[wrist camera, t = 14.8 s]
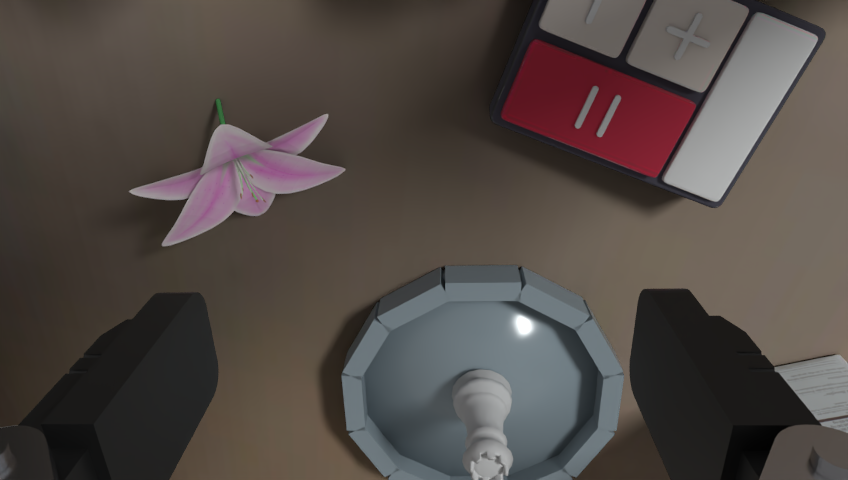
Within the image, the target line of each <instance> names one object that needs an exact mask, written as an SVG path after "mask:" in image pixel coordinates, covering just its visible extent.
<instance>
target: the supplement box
mask: <svg viewBox="0 0 848 480" xmlns="http://www.w3.org/2000/svg"><path fill="white" fill-rule="evenodd" d="M774 368H775V372H779V374H780V375H781V376H782V377H783V378H784V380H785V381H786V382H787V383H788V385H789V386H790V387H791V388H792V389H793V391H794V392H795V393H796V394H797V396H798V397H799V398H800V399H801V400H802V402H803V403H804V404H805V405H806V407H807V408H808V409H809V410H810V411H811V413H812V414H813V415H814V416H815V418H816V419H817V420H818V421H819V422H820V424H821V425H822V426H825V427H830V428H834V429H837V430H840V431H844V432H846V433H848V363H847V362H846V361H845V360H844V359H843V358H842V357H841V356H840V355H832V356H828V357H823V358H818V359H812V360H807V361H802V362H797V363H792V364H787V365H782V366H778V367H774Z"/></svg>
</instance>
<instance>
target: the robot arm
mask: <svg viewBox="0 0 848 480" xmlns="http://www.w3.org/2000/svg"><path fill="white" fill-rule="evenodd" d="M630 381H631V387H632V391H633V394H634V397H635V399H636V402H637V404H638V406H639V408H640V411H641V413H642V415H643V418H644V420H645V422H646V424H647V427H648V429H649V431H650V433H651V436H652V438H653V440H654V443H655V445H656V447H657V449H658V452H659V454H660V456H661V458H662V461H663V463H664V465H665V468H666V470H667V472H668V474H669V477H670V479H671V480H848V433H846V432H844V431H840V430H837V429H834V428H830V427H825V426H822V425H821V424H820V422H819V421H818V420H817V419H816V418H815V416H814V415H813V414H812V413H811V411H810V410H809V409H808V408H807V407H806V405H805V404H804V403H803V402H802V400H801V399H800V398H799V397H798V396H797V394H796V393H795V392H794V391H793V389H792V388H791V387H790V386H789V385H788V383H787V382H786V381H785V380H784V378H783V377H782V376H781V375H780V374H779V372H775V368H774V366H773V365H772V364H771V363H770V361H769V360H768V359H767V358H766V357H765V355H762V354H761V350H760V349H759V348H758V347H757V346H756V344H755V343H754V342H753V341H752V339H751V338H750V337H749V336H748V335H747V333H746V332H744V331H743V330H741V329H740V328H738V327H737V326H735V325H734V324H732V323H730V322H729V321H727V320H726V319H724V318H723V317H721V316H709V315H708V314H707V313H706V311H705V310H704V309H703V307H702V306H701V305H700V303H699V302H698V301H697V299H696V298H695V297H694V295H693V294H692V293H691V292H690V290H688V289H643V290H642V292H641V293H640V296H639V300H638V306H637V313H636V320H635V328H634V335H633V342H632V349H631V357H630ZM217 382H218V361H217V356H216V351H215V346H214V342H213V337H212V332H211V327H210V322H209V317H208V312H207V308H206V303H205V300H204V298H203V296H202V295H201V294H200V293H197V292H190V293H156V294H155V295H153V296H152V297H151V299H150V300H149V301H148V302H147V303H146V304H145V305H144V307H143V308H142V309H141V310H140V311H139V312H138V313H137V315H136V316H135V317H134V318H133V319H132V320H125V321H124V322H122V323H120V324H119V325H117V326H115V327H114V328H112V329H111V330H109V331H107V332H106V333H104V334H103V335H101V336H100V337H99V338H98V339H97V340H96V341H95V342H94V344H93V345H92V346H91V347H90V348H89V349H88V350H87V351H86V352H85V353H84V357H83V358H80V359H79V360H78V361H77V362H76V363H75V364H74V365H73V366H72V367H71V368H70V372H69V374H65V375H64V376H63V377H62V378H61V379H60V380H59V381H58V383H57V384H56V385H55V386H54V387H53V388H52V389H51V390H50V391H49V392H48V393H47V395H46V396H45V397H44V398H43V399H42V400H41V401H40V402H39V403H38V404H37V405H36V406H35V408H34V409H33V410H32V411H31V412H30V413H29V414H28V415H27V416H26V417H25V418H24V419H23V421H22V422H21V423H20V424H19V425H18V426H8V427H2V428H0V480H169V479H170V477H171V475H172V473H173V472H174V470H175V468H176V466H177V464H178V462H179V460H180V458H181V457H182V455H183V453H184V451H185V449H186V447H187V445H188V443H189V441H190V440H191V438H192V436H193V434H194V432H195V430H196V428H197V426H198V425H199V423H200V421H201V419H202V417H203V415H204V413H205V411H206V410H207V408H208V406H209V404H210V402H211V400H212V398H213V396H214V394H215V391H216V387H217Z"/></svg>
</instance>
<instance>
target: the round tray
mask: <svg viewBox="0 0 848 480" xmlns="http://www.w3.org/2000/svg"><path fill="white" fill-rule="evenodd" d="M478 369H484V370H491V371H494V372H496V373H498V374H500V375H502V376H503V377H504V378H505V379H506V380H507V381H508V382H509V384H510V387H511V391H512V394H511V398H512V404H511V409H510V413H509V414H508V415H507V417H506V419H505V420H504V423H503V434H504V435H505V436H506V439H507V448H508V449H509V450H510V451H511V453H512V456H513V463H512V466H511V468H510V469H509V472H508V476H505V475H503V479H504V480H572V476H573V477H577V476H578V475H579V474H580V473H581V472H582V471H583V469H584V468H585V467H586V466H587V465H588V464H589V463H590V462H591V460H592V459H593V458H594V457H595V456H596V455H597V454H598V453H599V451H600V450H601V449H602V448H603V447H604V446H605V445H606V444H607V442H608V441H609V440H610V439H611V438H612V437H613V436H614V435H615V433H614V431H617V424H618V416H619V409H620V402H621V395H622V387H623V380H624V374H623V369H622V367H621V365H620V363H619V360H618V358H617V356H616V354H615V351H614V350H613V348H612V346H611V344H610V343H609V341H608V339H607V337H606V336H605V334H604V332H603V330H602V329H601V327H600V325H599V323H598V322H597V320H596V318H595V317H594V315H593V313H592V311H591V310H590V308H589V306H588V304H587V303H586V301H585V300H584V301H583V299H582V297H581V296H579V295H577V294H575V293H573V292H571V291H569V290H567V289H565V288H563V287H561V286H559V285H557V284H555V283H553V282H552V281H550V280H548V279H546V278H544V277H542V276H540V275H538V274H536V273H534V272H532V271H530V270H528V269H526V268H524V267H521V268H520V270H518V266H517V265H483V266H445V270H442V269H441V267H439V268H438V269H436V270H434V271H432V272H430V273H428V274H426V275H424V276H422V277H421V278H419V279H417V280H415V281H413V282H411V283H409V284H407V285H405V286H403V287H402V288H400V289H398V290H396V291H394V292H392V293H390V294H388V295H386V296H385V297H383V298H381V299H380V303H379V302H377V303H376V305H375V306H374V308H373V310H372V311H371V313H370V315H369V316H368V318H367V320H366V321H365V323H364V325H363V326H362V328H361V330H360V331H359V333H358V335H357V337H356V338H355V340H354V342H353V343H352V345H351V347H350V348H349V350H348V352H347V355H346V359H345V363H344V368H343V372H342V376H341V377H342V387H343V397H344V407H345V417H346V427H347V431H349V435H350V437H351V438H352V439H353V440H354V441H355V443H356V444H357V445H358V446H359V447H360V448H361V450H362V451H363V452H364V453H365V454H366V456H367V457H368V458H369V459H370V460H371V462H372V463H373V464H374V465H375V466H376V468H377V469H378V470H379V471H380V472H381V473H382V475H383V476H384V477H386V476H388V480H472V479H471V474H470V473H469V472H468V471H467V470H466V469H465V468H464V465H463V463H462V459H463V454H464V452H465V451H466V450H467V449H466V446H465V440H466V437H467V430H466V426H465V424H464V423H463V422H462V420H461V419H460V418H459V417H458V416H457V414H456V411H455V409H454V406H453V399H452V390H453V386H454V384H455V383H456V381H457V380H458V378H460V377H461V376H463V375H464V374H466V373H468V372H470V371H474V370H478ZM478 480H480V479H478Z"/></svg>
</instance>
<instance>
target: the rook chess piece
mask: <svg viewBox="0 0 848 480" xmlns="http://www.w3.org/2000/svg"><path fill="white" fill-rule="evenodd" d="M511 394H512V391H511V387H510V384H509V382H508V381H507V380H506V379H505V378H504V377H503V376H502V375H500V374H498V373H496V372H494V371H491V370H484V369H478V370H474V371H470V372H468V373H466V374H464V375H463V376H461V377H460V378H458V380H457V381H456V383H455V384H454V386H453V390H452V399H453V406H454V409H455V411H456V414H457V416H458V417H459V418H460V419H461V420H462V422H463V423H464V424H465V426H466V430H467V437H466V440H465V446H466V449H467V450H466V451H465V452H464V454H463V459H462V463H463V465H464V468H465V469H466V470H467V471H468V472H469V473H470V474H471V479H472V480H478V479H480V480H504V479H503V475H505V476H508V472H509V469H510V468H511V466H512V463H513V456H512V453H511V451H510V450H509V449H508V448H507V439H506V436H505V435H504V434H503V423H504V420H505V419H506V417H507V415H508V414H509V413H510V409H511V404H512V398H511Z"/></svg>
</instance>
